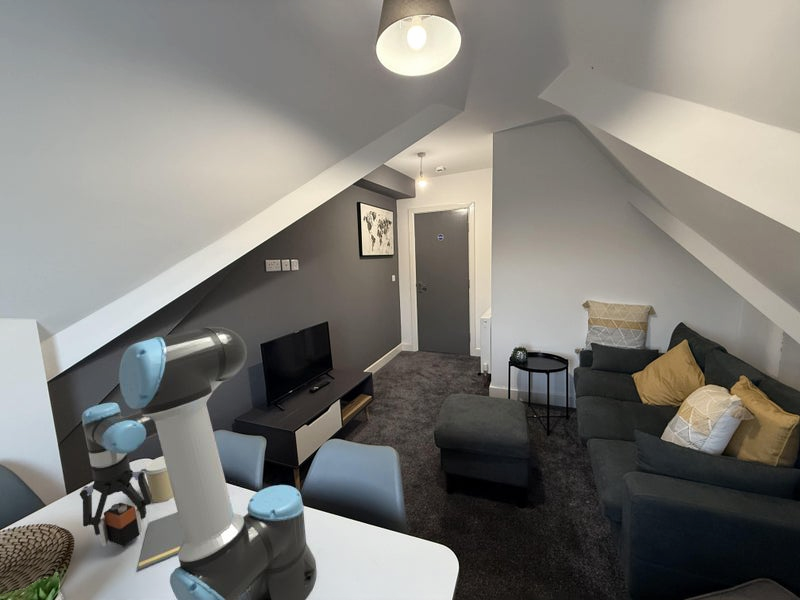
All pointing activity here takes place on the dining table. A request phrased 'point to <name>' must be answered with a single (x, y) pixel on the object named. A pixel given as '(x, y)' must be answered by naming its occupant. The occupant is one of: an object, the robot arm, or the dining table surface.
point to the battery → (121, 524)
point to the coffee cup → (159, 480)
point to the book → (161, 541)
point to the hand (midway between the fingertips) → (124, 535)
